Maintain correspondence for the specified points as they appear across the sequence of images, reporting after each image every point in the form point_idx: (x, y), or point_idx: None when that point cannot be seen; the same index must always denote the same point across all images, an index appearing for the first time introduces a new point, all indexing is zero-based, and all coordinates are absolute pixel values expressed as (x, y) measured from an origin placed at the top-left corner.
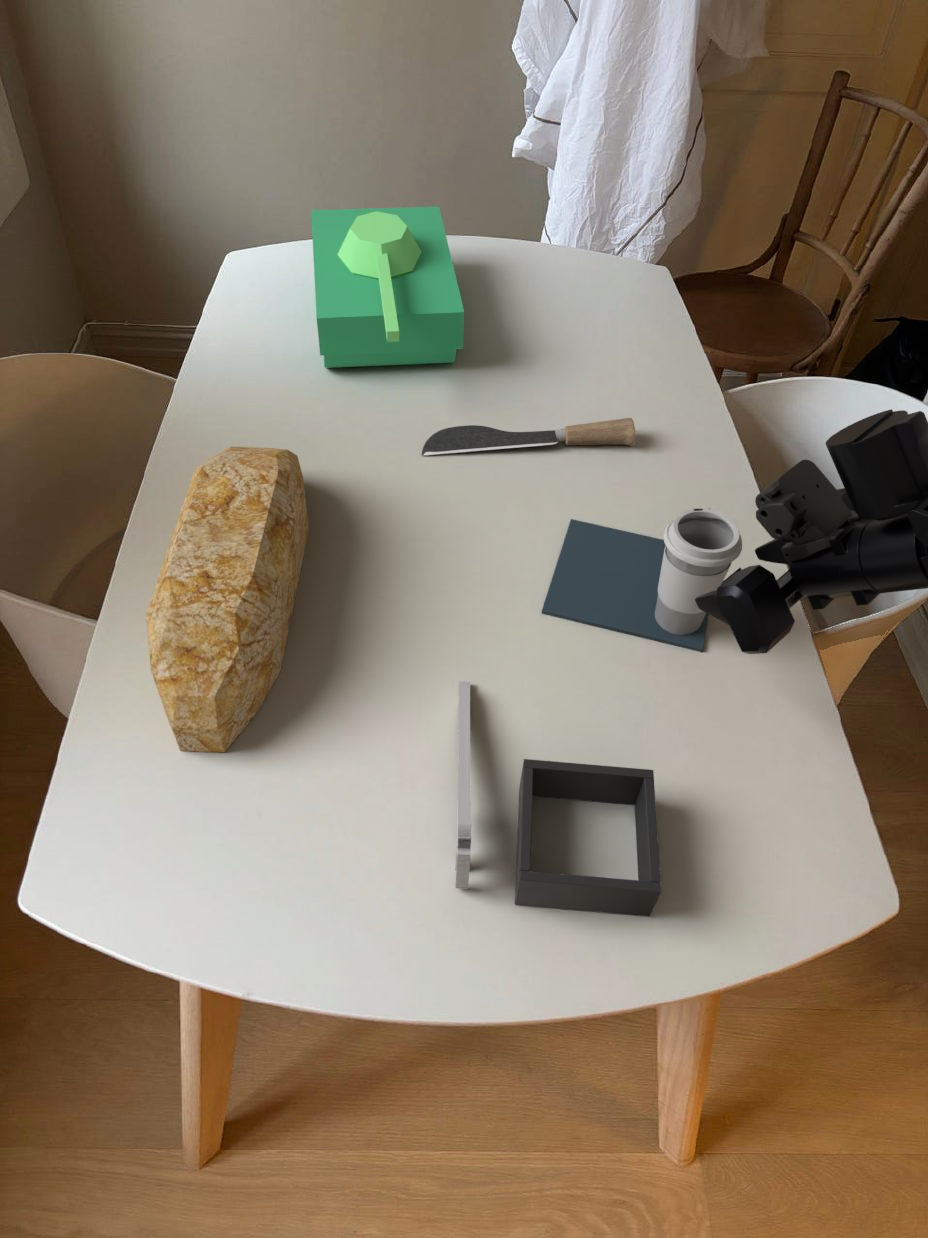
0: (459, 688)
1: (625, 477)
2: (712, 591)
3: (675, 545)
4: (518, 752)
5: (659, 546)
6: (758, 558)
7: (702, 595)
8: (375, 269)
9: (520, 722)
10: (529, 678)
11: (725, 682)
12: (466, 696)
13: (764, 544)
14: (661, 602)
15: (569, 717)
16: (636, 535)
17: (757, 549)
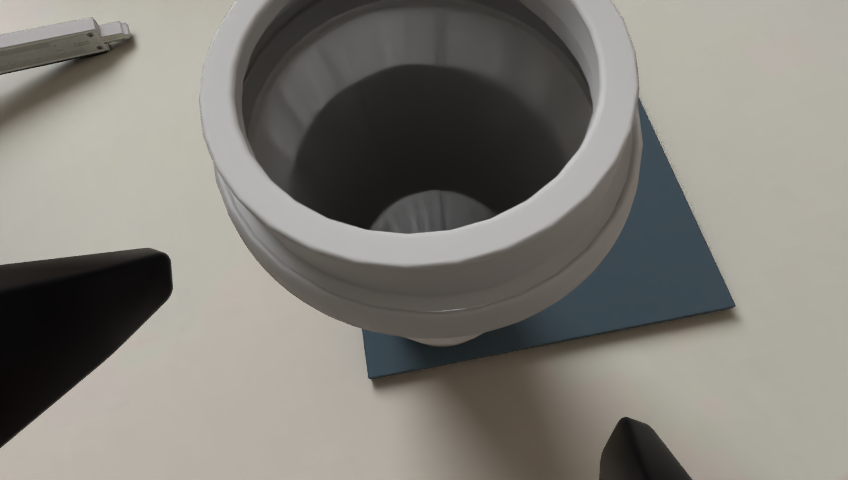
0: (85, 18)
1: (811, 39)
2: (17, 281)
3: (276, 15)
4: (14, 152)
5: (643, 172)
6: (602, 452)
7: (107, 260)
8: None
9: (76, 131)
10: (174, 105)
11: (298, 469)
12: (65, 30)
13: (668, 468)
14: (384, 217)
15: (105, 193)
16: (641, 118)
17: (625, 431)
